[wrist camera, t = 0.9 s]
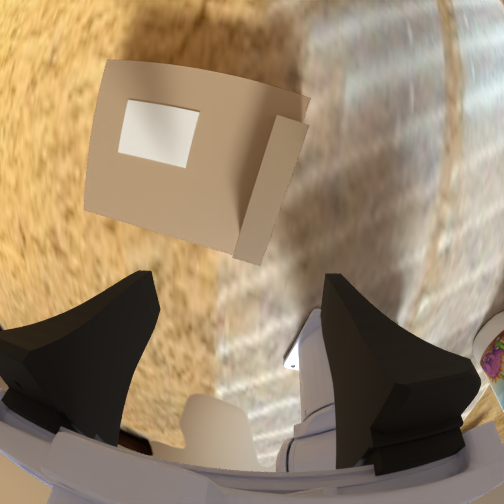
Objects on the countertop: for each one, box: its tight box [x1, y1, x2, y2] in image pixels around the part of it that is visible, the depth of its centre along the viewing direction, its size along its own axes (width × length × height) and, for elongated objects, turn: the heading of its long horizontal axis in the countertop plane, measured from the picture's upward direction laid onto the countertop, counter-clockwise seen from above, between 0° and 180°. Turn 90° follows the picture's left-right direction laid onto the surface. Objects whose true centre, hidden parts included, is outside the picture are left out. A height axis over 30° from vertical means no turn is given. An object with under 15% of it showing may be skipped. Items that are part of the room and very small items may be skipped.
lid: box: [84, 59, 311, 266], centre depth 14 cm, size 12×10×4 cm
